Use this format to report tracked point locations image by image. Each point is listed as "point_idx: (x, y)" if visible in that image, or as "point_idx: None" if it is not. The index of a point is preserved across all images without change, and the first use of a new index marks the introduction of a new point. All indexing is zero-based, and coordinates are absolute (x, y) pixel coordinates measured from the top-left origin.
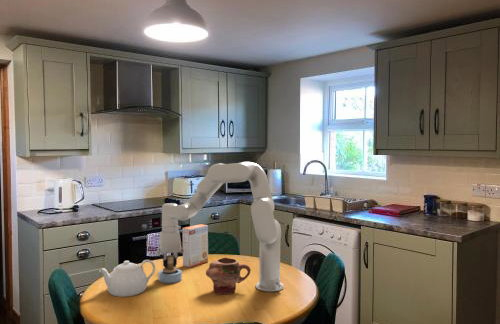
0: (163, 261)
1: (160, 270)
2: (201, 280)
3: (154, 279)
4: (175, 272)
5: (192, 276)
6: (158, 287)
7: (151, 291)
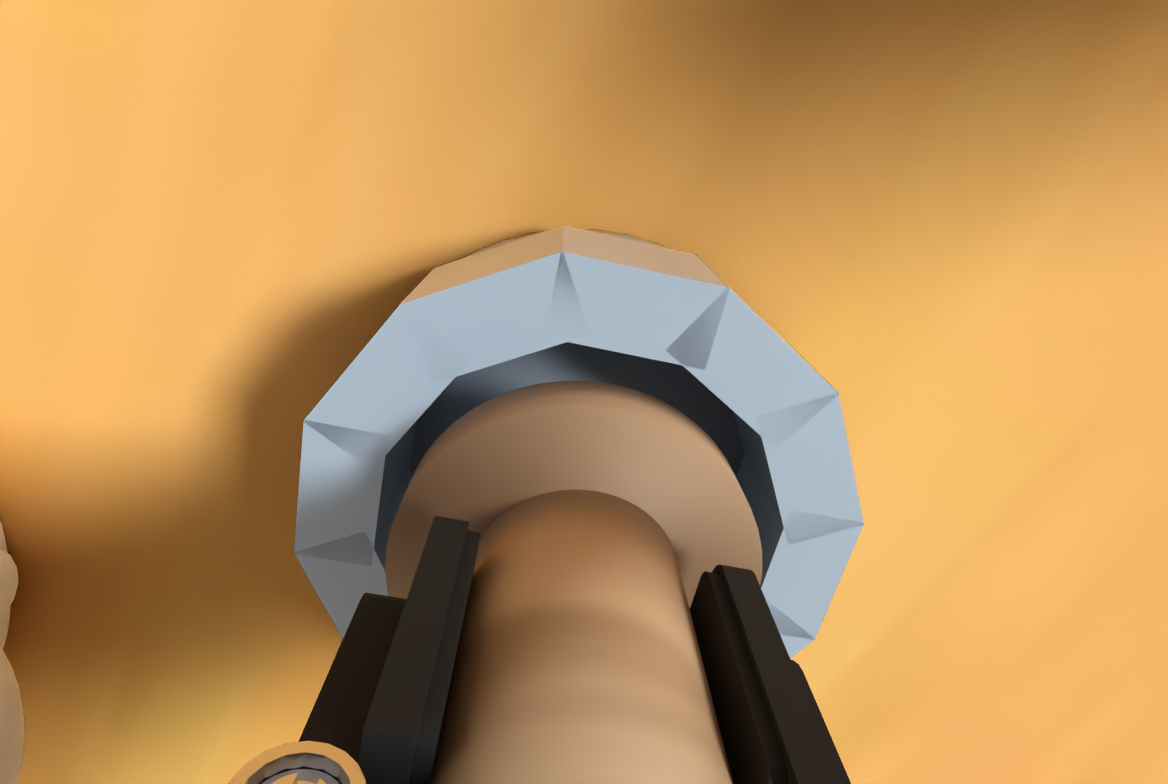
0: (320, 728)
1: (416, 301)
2: (953, 734)
3: (322, 224)
4: (751, 447)
5: (1006, 510)
6: (245, 643)
7: (95, 721)
